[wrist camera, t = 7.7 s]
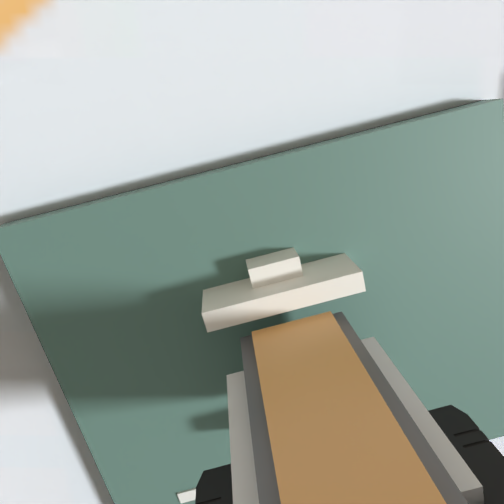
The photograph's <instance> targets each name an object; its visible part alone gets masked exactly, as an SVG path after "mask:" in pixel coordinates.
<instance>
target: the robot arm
mask: <svg viewBox="0 0 504 504" xmlns="http://www.w3.org/2000/svg"><path fill="white" fill-rule="evenodd" d="M361 341H362V343H363V344H364V346H365V347H366V349H367V350H368V352H369V354H370V355H371V357H372V358H373V360H374V361H375V363H376V364H377V366H378V367H379V369H380V370H381V372H382V373H383V375H384V376H385V378H386V379H387V381H388V382H389V384H390V385H391V387H392V388H393V390H394V391H395V393H396V394H397V396H398V397H399V399H400V401H401V402H402V404H403V405H404V407H405V408H406V410H407V411H408V413H409V414H410V416H411V417H412V419H413V420H414V422H415V423H416V425H417V426H418V428H419V429H420V431H421V432H422V434H423V435H424V437H425V438H426V440H427V441H428V443H429V444H430V446H431V447H432V449H433V451H434V452H435V454H436V455H437V457H438V458H439V460H440V461H441V463H442V464H443V466H444V467H445V469H446V470H447V472H448V473H449V475H450V476H451V478H452V479H453V481H454V482H455V484H456V485H457V487H458V488H459V490H460V491H461V493H462V494H463V496H464V498H465V499H466V501H467V502H468V504H504V456H503V455H502V454H501V453H500V452H499V451H498V449H497V448H496V447H495V446H494V445H493V444H492V442H490V441H489V439H488V438H487V436H486V435H485V434H484V433H483V432H482V431H480V429H479V427H478V426H477V425H476V424H475V422H474V421H473V420H472V419H471V418H470V417H469V415H468V414H466V413H464V412H463V411H461V410H459V409H458V408H456V407H454V406H453V405H448V406H444V407H440V408H436V409H432V410H427V409H426V408H425V406H424V405H423V404H422V402H421V401H420V399H419V398H418V397H417V395H416V394H415V393H414V391H413V390H412V388H411V387H410V386H409V384H408V383H407V382H406V380H405V379H404V377H403V376H402V375H401V373H400V372H399V371H398V369H397V368H396V366H395V365H394V364H393V362H392V361H391V360H390V358H389V357H388V356H387V354H386V353H385V351H384V350H383V349H382V347H381V346H380V345H379V343H378V342H377V340H376V339H375V338H374V337H370V338H366V339H363V340H361ZM227 394H228V414H229V434H230V454H231V464H228V465H224V466H220V467H216V468H212V469H209V470H205V471H203V473H202V475H201V477H200V479H199V482H198V484H197V486H196V498H195V504H259V498H258V490H257V481H256V472H255V464H254V455H253V446H252V438H251V429H250V420H249V412H248V403H247V394H246V386H245V377H244V371H240V372H236V373H233V374H229V375H227Z"/></svg>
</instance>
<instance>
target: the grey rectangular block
mask: <svg viewBox="0 0 504 504" xmlns="http://www.w3.org/2000/svg"><path fill="white" fill-rule="evenodd" d="M251 333H252V335H248V336H245V337H241V338H240V342H241V351H242V360H243V368H244V377H245V386H246V394H247V403H248V412H249V420H250V429H251V438H252V446H253V455H254V464H255V472H256V481H257V490H258V498H259V504H468V502H467V501H466V499H465V498H464V496H463V494H462V493H461V491H460V490H459V488H458V487H457V485H456V484H455V482H454V481H453V479H452V478H451V476H450V475H449V473H448V472H447V470H446V469H445V467H444V466H443V464H442V463H441V461H440V460H439V458H438V457H437V455H436V454H435V452H434V451H433V449H432V447H431V446H430V444H429V443H428V441H427V440H426V438H425V437H424V435H423V434H422V432H421V431H420V429H419V428H418V426H417V425H416V423H415V422H414V420H413V419H412V417H411V416H410V414H409V413H408V411H407V410H406V408H405V407H404V405H403V404H402V402H401V401H400V399H399V397H398V396H397V394H396V393H395V391H394V390H393V388H392V387H391V385H390V384H389V382H388V381H387V379H386V378H385V376H384V375H383V373H382V372H381V370H380V369H379V367H378V366H377V364H376V363H375V361H374V360H373V358H372V357H371V355H370V354H369V352H368V350H367V349H366V347H365V346H364V344H363V343H362V341H361V340H360V338H359V337H358V335H357V334H356V332H355V331H354V329H353V328H352V326H351V325H350V323H349V322H348V320H347V319H346V317H345V316H344V314H343V313H342V311H341V312H337V313H334V314H332V313H331V311H329V312H325V313H321V314H317V315H314V316H310V317H306V318H302V319H298V320H294V321H290V322H286V323H283V324H279V325H275V326H271V327H267V328H263V329H259V330H256V331H252V332H251Z"/></svg>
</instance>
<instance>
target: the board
mask: <svg viewBox="0 0 504 504" xmlns="http://www.w3.org/2000/svg"><path fill="white" fill-rule="evenodd" d="M0 255H1V257H2V259H3V261H4V264H5V266H6V268H7V270H8V272H9V275H10V277H11V279H12V281H13V283H14V286H15V288H16V290H17V292H18V294H19V296H20V299H21V301H22V303H23V305H24V307H25V310H26V312H27V314H28V316H29V318H30V321H31V323H32V325H33V327H34V329H35V331H36V334H37V336H38V338H39V340H40V342H41V345H42V347H43V349H44V351H45V353H46V356H47V358H48V360H49V362H50V364H51V366H52V369H53V371H54V373H55V375H56V377H57V380H58V382H59V384H60V386H61V388H62V391H63V393H64V395H65V397H66V399H67V401H68V404H69V406H70V408H71V410H72V412H73V415H74V417H75V419H76V421H77V423H78V425H79V428H80V430H81V432H82V434H83V436H84V439H85V441H86V443H87V445H88V447H89V450H90V452H91V454H92V456H93V458H94V460H95V463H96V465H97V467H98V469H99V471H100V474H101V476H102V478H103V480H104V482H105V485H106V487H107V489H108V491H109V493H110V495H111V498H112V500H113V502H114V504H195V498H196V486H197V484H198V482H199V479H200V477H201V475H202V473H203V471H205V470H209V469H212V468H216V467H220V466H224V465H228V464H231V454H230V434H229V414H228V394H227V375H229V374H233V373H236V372H240V371H244V368H243V360H242V351H241V342H240V338H241V337H245V336H248V335H252V333H251V332H252V331H256V330H259V329H263V328H267V327H271V326H275V325H279V324H283V323H286V322H290V321H294V320H298V319H302V318H306V317H310V316H314V315H317V314H321V313H325V312H329V311H331V313H332V314H334V313H337V312H341V311H342V313H343V314H344V316H345V317H346V319H347V320H348V322H349V323H350V325H351V326H352V328H353V329H354V331H355V332H356V334H357V335H358V337H359V338H360V340H363V339H366V338H370V337H374V338H375V339H376V340H377V342H378V343H379V345H380V346H381V347H382V349H383V350H384V351H385V353H386V354H387V356H388V357H389V358H390V360H391V361H392V362H393V364H394V365H395V366H396V368H397V369H398V371H399V372H400V373H401V375H402V376H403V377H404V379H405V380H406V382H407V383H408V384H409V386H410V387H411V388H412V390H413V391H414V393H415V394H416V395H417V397H418V398H419V399H420V401H421V402H422V404H423V405H424V406H425V408H426V409H427V410H432V409H436V408H440V407H444V406H448V405H453V406H454V407H456V408H458V409H459V410H461V411H463V412H464V413H466V414H468V415H469V417H470V418H471V419H472V420H473V421H474V422H475V424H476V425H477V426H478V427H479V429H480V431H482V432H483V433H484V434H485V435H486V436H487V438H488V439H489V440H490V439H494V438H498V437H501V436H504V108H503V99H492V100H482V101H478V102H474V103H471V104H467V105H463V106H459V107H455V108H451V109H447V110H443V111H439V112H436V113H432V114H428V115H424V116H420V117H416V118H412V119H408V120H405V121H401V122H397V123H393V124H389V125H385V126H381V127H377V128H373V129H370V130H366V131H362V132H358V133H354V134H350V135H346V136H342V137H339V138H335V139H331V140H327V141H323V142H319V143H315V144H311V145H307V146H304V147H300V148H296V149H292V150H288V151H284V152H280V153H276V154H272V155H269V156H265V157H261V158H257V159H253V160H249V161H245V162H241V163H238V164H234V165H230V166H226V167H222V168H218V169H214V170H210V171H206V172H203V173H199V174H195V175H191V176H187V177H183V178H179V179H175V180H172V181H168V182H164V183H160V184H156V185H152V186H148V187H144V188H140V189H137V190H133V191H129V192H125V193H121V194H117V195H113V196H109V197H105V198H102V199H98V200H94V201H90V202H86V203H82V204H78V205H74V206H71V207H67V208H63V209H59V210H55V211H51V212H47V213H43V214H39V215H36V216H32V217H28V218H24V219H20V220H16V221H12V222H8V223H5V224H3V225H1V226H0Z"/></svg>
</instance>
